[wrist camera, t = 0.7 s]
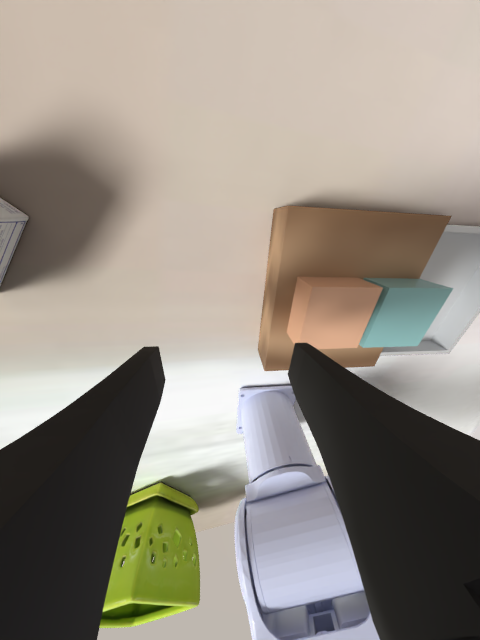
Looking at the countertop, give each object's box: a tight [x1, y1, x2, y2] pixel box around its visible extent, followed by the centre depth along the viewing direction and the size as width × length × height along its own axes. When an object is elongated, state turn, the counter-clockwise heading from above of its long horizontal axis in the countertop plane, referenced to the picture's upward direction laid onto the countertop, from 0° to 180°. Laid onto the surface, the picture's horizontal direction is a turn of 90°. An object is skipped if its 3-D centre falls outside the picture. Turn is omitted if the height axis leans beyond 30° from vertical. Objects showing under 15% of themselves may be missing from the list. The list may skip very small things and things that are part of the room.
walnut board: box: [258, 206, 451, 371], centre depth 17 cm, size 14×12×4 cm
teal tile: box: [359, 278, 453, 348], centre depth 15 cm, size 5×5×2 cm
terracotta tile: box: [287, 277, 383, 349], centre depth 14 cm, size 5×5×2 cm
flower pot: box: [99, 482, 200, 628], centre depth 31 cm, size 14×14×13 cm
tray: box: [380, 225, 480, 356], centre depth 19 cm, size 13×10×2 cm
